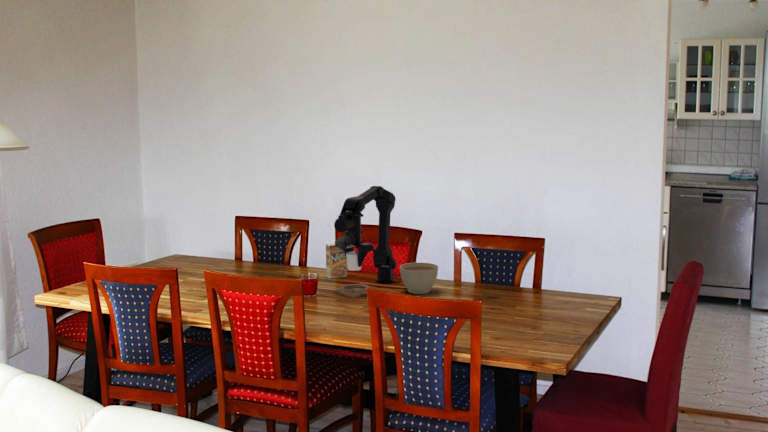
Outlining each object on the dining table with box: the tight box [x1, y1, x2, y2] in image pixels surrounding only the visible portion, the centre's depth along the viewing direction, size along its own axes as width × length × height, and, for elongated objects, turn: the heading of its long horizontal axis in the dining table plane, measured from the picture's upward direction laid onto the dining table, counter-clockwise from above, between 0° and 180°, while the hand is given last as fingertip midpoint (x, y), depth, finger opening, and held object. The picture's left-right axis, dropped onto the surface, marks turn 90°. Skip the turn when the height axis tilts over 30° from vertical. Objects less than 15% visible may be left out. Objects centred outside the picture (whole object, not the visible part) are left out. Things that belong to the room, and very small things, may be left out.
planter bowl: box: [399, 262, 439, 295], centre depth 343 cm, size 16×16×11 cm
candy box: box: [325, 243, 348, 279], centre depth 371 cm, size 9×4×15 cm, turn 118°
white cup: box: [346, 250, 362, 272], centre depth 340 cm, size 7×7×7 cm
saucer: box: [334, 283, 370, 299], centre depth 342 cm, size 12×12×2 cm
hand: (354, 265), depth 340 cm, fingers closed on white cup, 6 cm apart
